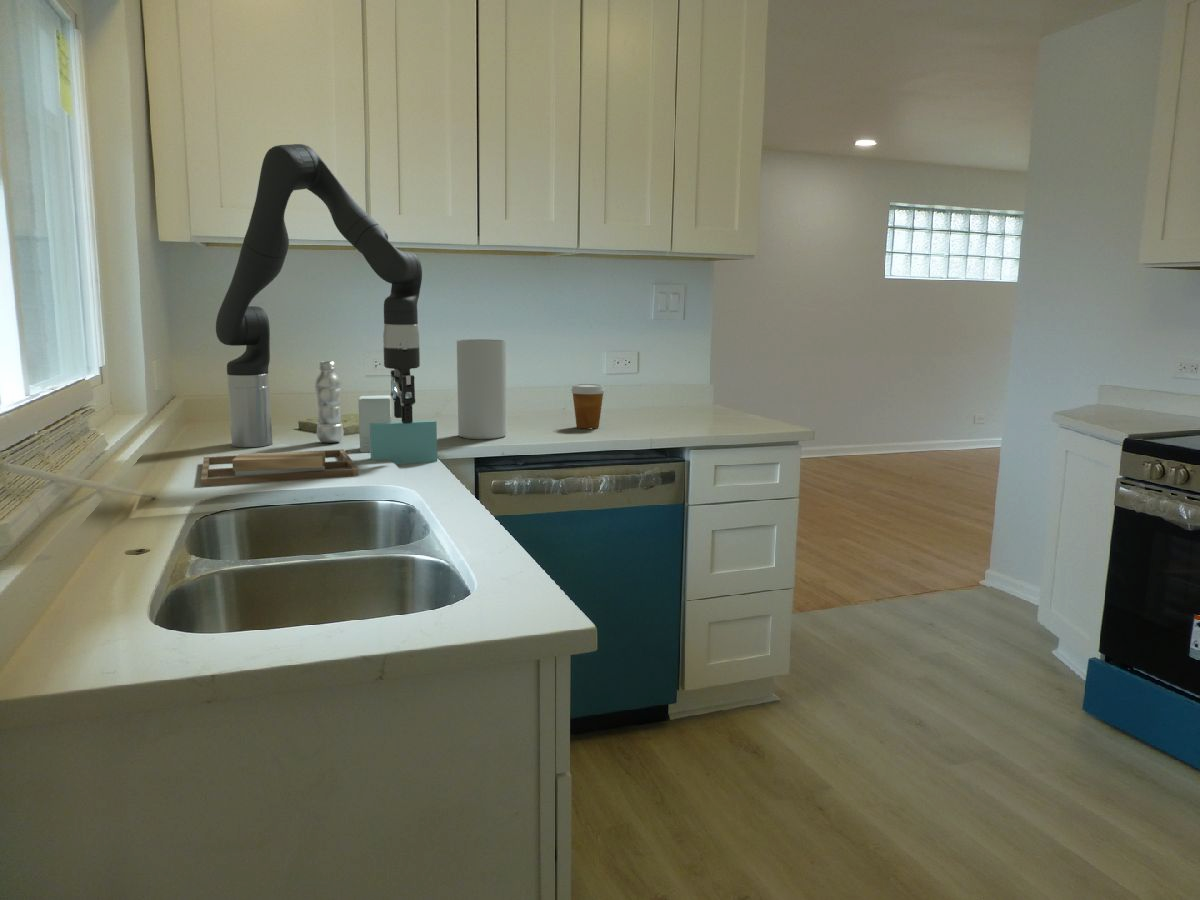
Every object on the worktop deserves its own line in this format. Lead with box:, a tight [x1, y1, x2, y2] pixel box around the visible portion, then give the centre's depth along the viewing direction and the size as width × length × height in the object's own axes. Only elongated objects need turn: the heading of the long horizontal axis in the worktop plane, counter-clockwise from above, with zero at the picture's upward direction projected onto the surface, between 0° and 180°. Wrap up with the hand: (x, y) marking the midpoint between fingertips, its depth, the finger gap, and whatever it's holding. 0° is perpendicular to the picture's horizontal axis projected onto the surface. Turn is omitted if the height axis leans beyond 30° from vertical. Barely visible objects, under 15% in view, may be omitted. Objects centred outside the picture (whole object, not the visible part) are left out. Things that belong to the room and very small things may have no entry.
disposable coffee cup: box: [570, 383, 606, 429], centre depth 241 cm, size 10×10×12 cm
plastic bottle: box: [314, 360, 344, 444], centre depth 211 cm, size 6×7×20 cm
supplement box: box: [357, 394, 393, 453], centre depth 202 cm, size 7×7×13 cm
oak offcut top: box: [231, 450, 326, 471], centre depth 165 cm, size 7×16×2 cm, turn 103°
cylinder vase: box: [456, 338, 507, 440], centre depth 223 cm, size 12×12×25 cm
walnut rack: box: [200, 448, 360, 488], centre depth 172 cm, size 24×28×2 cm
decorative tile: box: [297, 413, 360, 437], centre depth 236 cm, size 18×20×4 cm
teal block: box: [369, 419, 438, 465], centre depth 187 cm, size 2×14×9 cm, turn 113°
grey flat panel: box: [234, 465, 326, 476], centre depth 166 cm, size 7×16×2 cm, turn 111°
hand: (403, 420), depth 186 cm, fingers open, 8 cm apart
